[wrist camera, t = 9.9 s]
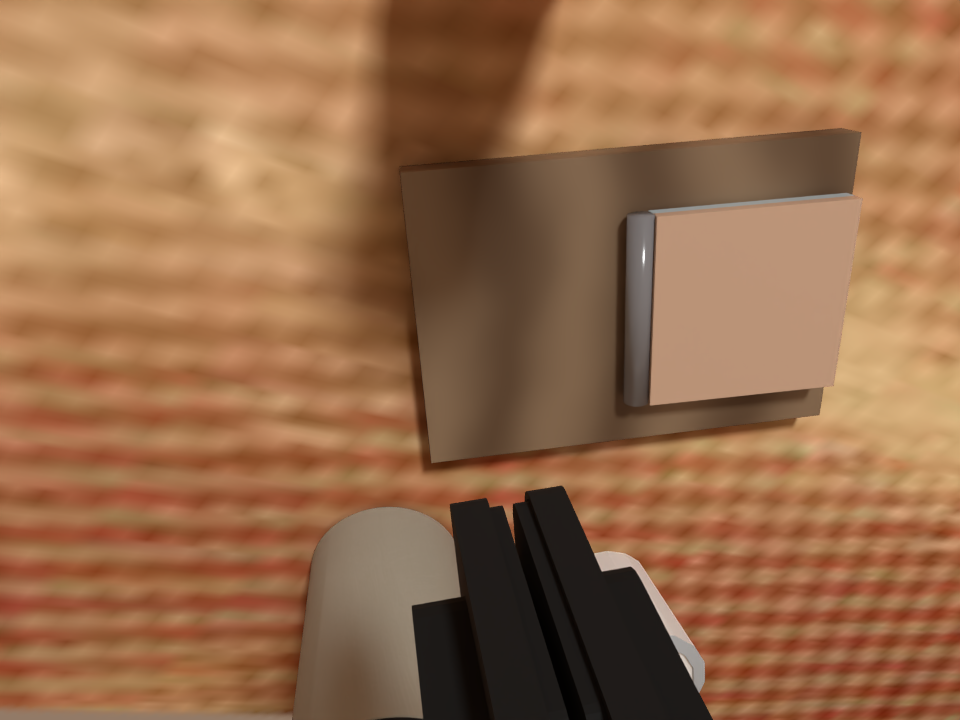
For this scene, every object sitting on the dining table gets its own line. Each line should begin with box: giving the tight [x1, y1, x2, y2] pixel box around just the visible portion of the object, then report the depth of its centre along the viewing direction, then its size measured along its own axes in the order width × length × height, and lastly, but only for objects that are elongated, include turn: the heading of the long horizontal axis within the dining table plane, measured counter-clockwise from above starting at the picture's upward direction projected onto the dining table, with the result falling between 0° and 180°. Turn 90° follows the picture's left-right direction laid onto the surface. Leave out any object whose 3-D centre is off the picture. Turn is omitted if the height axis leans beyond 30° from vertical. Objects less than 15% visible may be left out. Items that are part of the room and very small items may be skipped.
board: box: [399, 128, 861, 463], centre depth 34 cm, size 20×14×2 cm
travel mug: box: [292, 507, 461, 720], centre depth 32 cm, size 8×8×18 cm
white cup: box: [594, 551, 705, 692], centre depth 39 cm, size 7×7×7 cm
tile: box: [623, 193, 863, 407], centre depth 33 cm, size 10×9×1 cm
